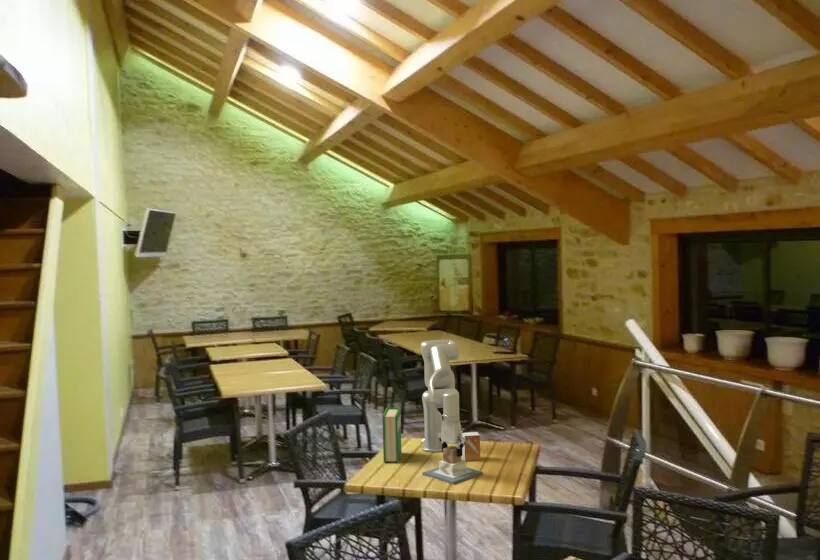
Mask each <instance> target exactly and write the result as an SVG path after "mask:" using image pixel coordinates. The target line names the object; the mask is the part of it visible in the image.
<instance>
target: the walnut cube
mask: <svg viewBox="0 0 820 560" xmlns="http://www.w3.org/2000/svg"><path fill="white" fill-rule="evenodd" d="M442 460H443V461H444V462H448V463H451V464H453V463H457V462H460V461H461V460H462V456H460V457H457V446H452V445H450V446H447V448H443V453H442Z"/></svg>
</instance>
